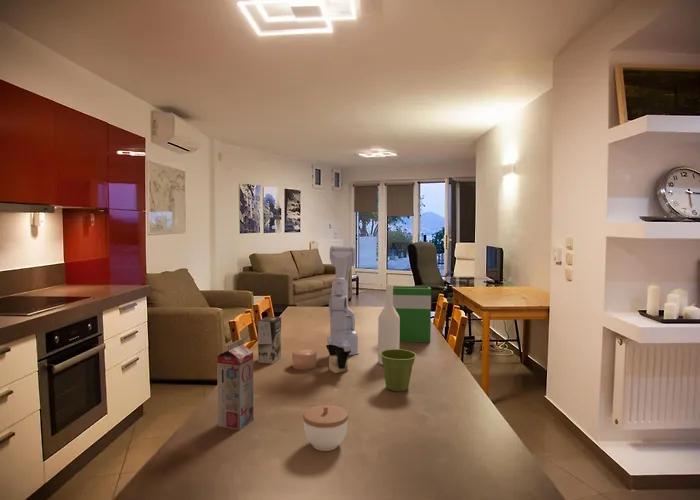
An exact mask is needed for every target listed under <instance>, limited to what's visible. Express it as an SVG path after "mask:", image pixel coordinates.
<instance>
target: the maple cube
mask: <svg viewBox="0 0 700 500" xmlns="http://www.w3.org/2000/svg"><path fill="white" fill-rule="evenodd" d="M348 359H349V357H348V358H347V361H346V365H345V368H343V369H339V367H338V360H337V355H330V354H329V355H328V369H329V370H330V371H331V372H333V373H334V374H337V373H343V372H348V370H349V369H348V366H349V364H348Z"/></svg>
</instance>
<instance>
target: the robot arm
mask: <svg viewBox="0 0 700 500" xmlns="http://www.w3.org/2000/svg"><path fill="white" fill-rule="evenodd" d="M355 260H356V247H355V245H352V246H351V245H350V246H349V245H345V246H344V245H339V246H338V245H331V246H330V247H329V261H330V263H331V266H333V267H335V279H333V280H332V283H331V284H332V285H331V292H330V294H331V295H330V297H329V300H328V309H329V310H328V311H329V317H330V318H329V319H330V321H329V328H330V329H329V330H330V335H329V336H327V338H326V342H327V344H326V346H325V347H326V349H327V351H328V354H329V356H330V355H337V360H338V367H339V369H343V368H345V365H346V361H347V358H348V359H349V356H352V355H353V356H354V355H358V354H359V346H358V344H359V337H358V333H357V332H356V331H355V329H356V317H355V312H354V310H352V309H351V308H350V307H349V271H350V268H352V267H354V266H355V263H356V261H355Z"/></svg>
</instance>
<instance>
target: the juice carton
mask: <svg viewBox="0 0 700 500" xmlns="http://www.w3.org/2000/svg"><path fill="white" fill-rule="evenodd" d="M243 339H244V338H240V339H237V340H236V341H234V342H231V343H229V344H228V345H227V350H226V351H225V352H223V353H220V354H219V355H217V356H216V357H217V360H216V361H217V363H216V364H217V367H216V369H217V372H216V374H217V375H216V376H217V426H218V427H221V428H225V429H226V428H227V429H231V430H237V431H241V430H242V429H244V428H245V427H246V426H248V425H249V424H250V423H251V422H252V421H254V418H255V417H254V352H253V350H251V349H250V348H248V347H247V346H245V344H244V343H243Z"/></svg>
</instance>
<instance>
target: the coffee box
mask: <svg viewBox="0 0 700 500" xmlns="http://www.w3.org/2000/svg"><path fill="white" fill-rule="evenodd" d="M257 326H258V327H257V363H260V364H270V365H272V364H274V363H276V362H277V361H278V360H280V359H281V358H282V317H281V316H266V317H264V318H262V319H260V320H258V321H257Z"/></svg>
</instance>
